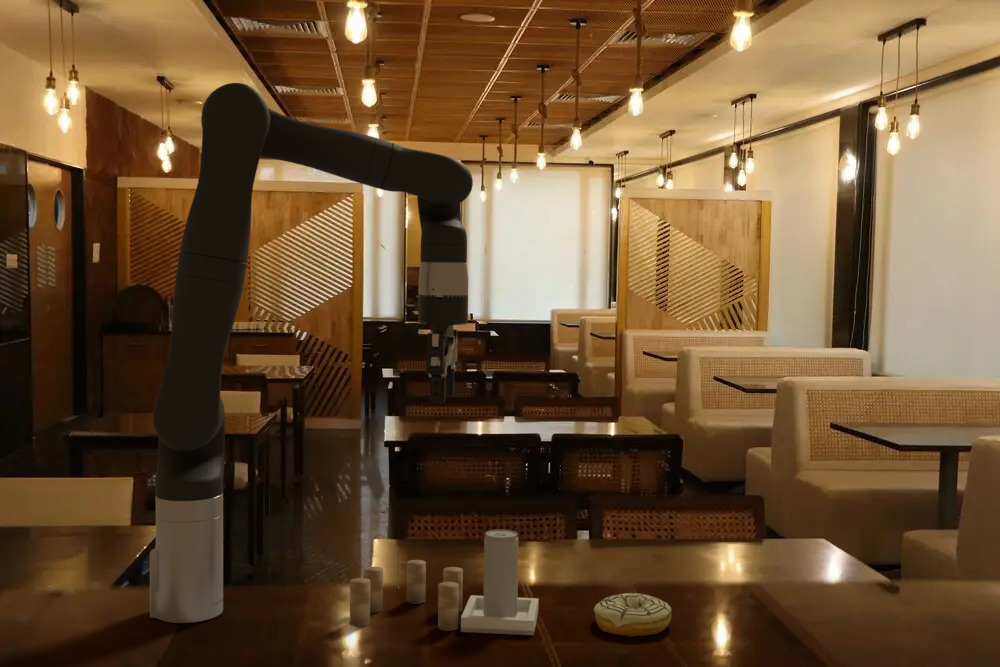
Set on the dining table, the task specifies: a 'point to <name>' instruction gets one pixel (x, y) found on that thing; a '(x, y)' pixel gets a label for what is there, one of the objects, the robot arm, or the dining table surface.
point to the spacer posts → (370, 594)
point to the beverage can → (500, 573)
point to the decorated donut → (632, 614)
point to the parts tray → (500, 618)
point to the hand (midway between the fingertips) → (442, 399)
